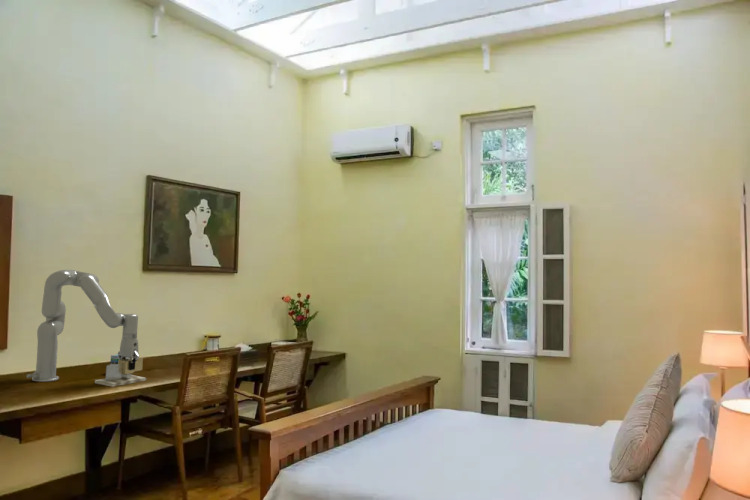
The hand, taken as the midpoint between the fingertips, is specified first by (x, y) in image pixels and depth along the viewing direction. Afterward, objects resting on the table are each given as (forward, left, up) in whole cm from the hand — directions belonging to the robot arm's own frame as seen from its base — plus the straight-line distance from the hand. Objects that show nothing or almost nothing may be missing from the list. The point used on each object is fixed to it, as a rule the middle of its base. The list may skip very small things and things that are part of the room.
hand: (127, 368), depth 328 cm
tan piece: (+3, 0, -2) cm, 4 cm away
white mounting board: (-4, 0, -7) cm, 8 cm away
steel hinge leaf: (-6, 0, -5) cm, 8 cm away
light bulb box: (+12, +20, -7) cm, 24 cm away
